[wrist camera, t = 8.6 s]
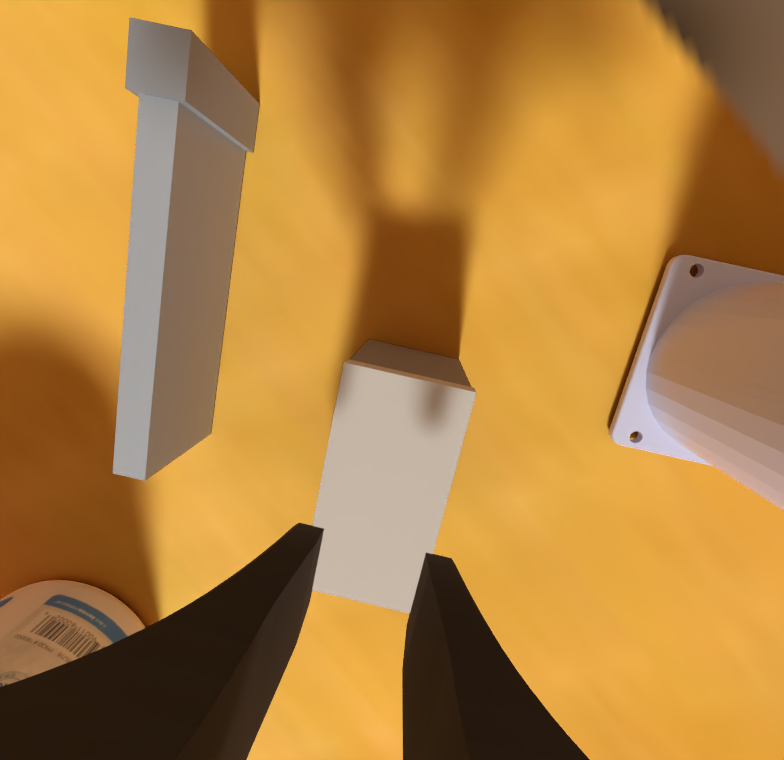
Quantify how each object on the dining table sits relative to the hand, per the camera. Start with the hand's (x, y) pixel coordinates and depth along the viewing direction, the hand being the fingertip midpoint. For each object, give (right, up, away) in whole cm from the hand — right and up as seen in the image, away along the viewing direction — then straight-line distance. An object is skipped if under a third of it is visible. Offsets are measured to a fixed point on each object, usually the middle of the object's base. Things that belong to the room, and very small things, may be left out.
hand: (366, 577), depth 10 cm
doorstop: (+1, +2, +10) cm, 10 cm away
